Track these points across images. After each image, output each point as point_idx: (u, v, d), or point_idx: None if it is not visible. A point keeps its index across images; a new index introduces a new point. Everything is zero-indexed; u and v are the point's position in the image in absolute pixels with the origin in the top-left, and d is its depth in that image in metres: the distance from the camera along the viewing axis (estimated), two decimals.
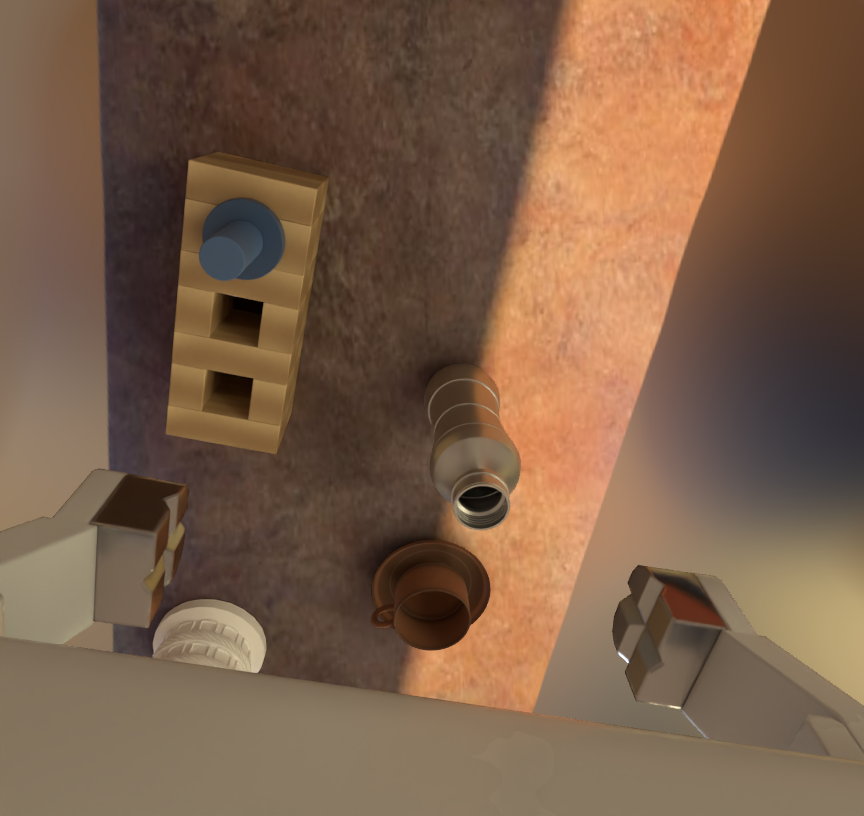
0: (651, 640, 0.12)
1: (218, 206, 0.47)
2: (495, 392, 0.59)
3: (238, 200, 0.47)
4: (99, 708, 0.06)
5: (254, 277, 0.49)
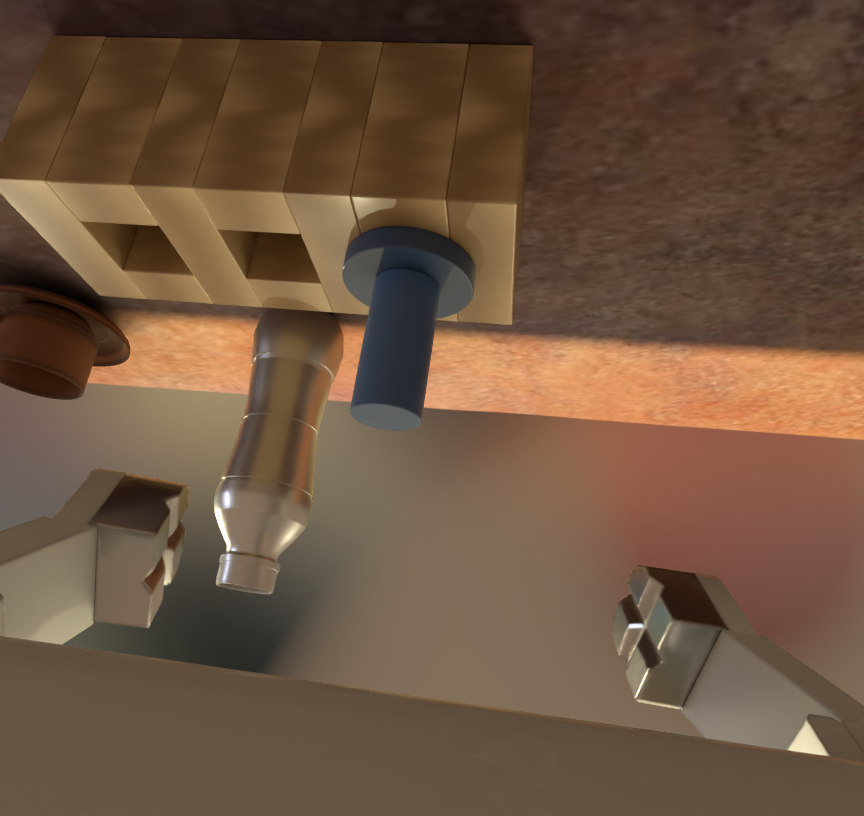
0: (651, 640, 0.12)
1: (450, 262, 0.27)
2: None
3: (469, 282, 0.28)
4: (99, 708, 0.06)
5: (356, 296, 0.31)
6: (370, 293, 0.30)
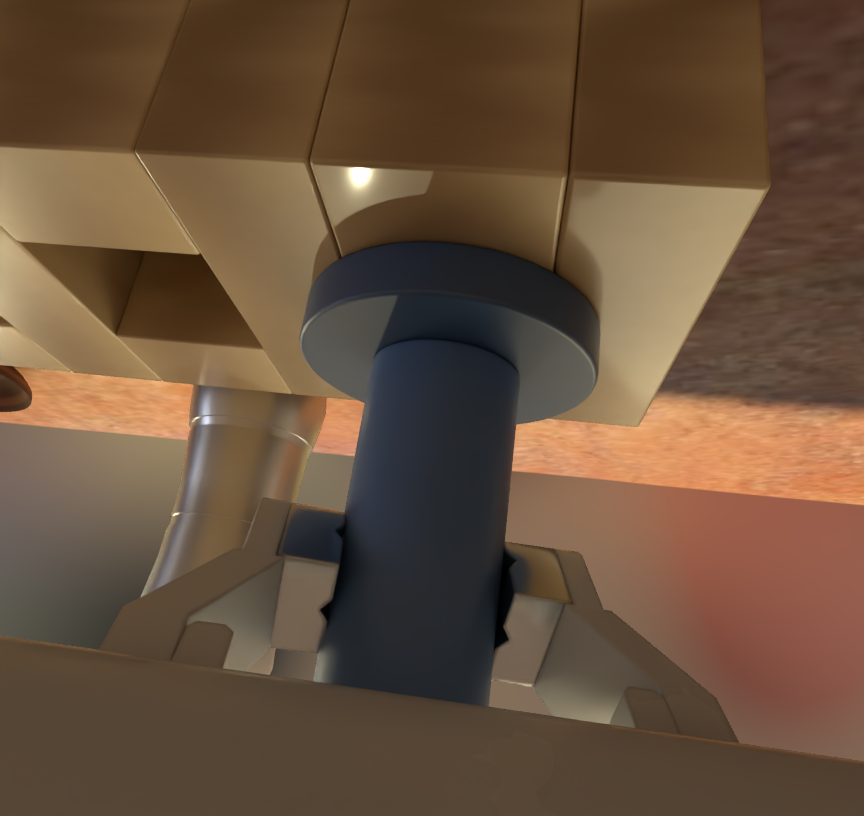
0: None
1: (559, 332, 0.11)
2: None
3: (592, 371, 0.12)
4: (99, 708, 0.06)
5: (334, 385, 0.14)
6: (363, 380, 0.14)
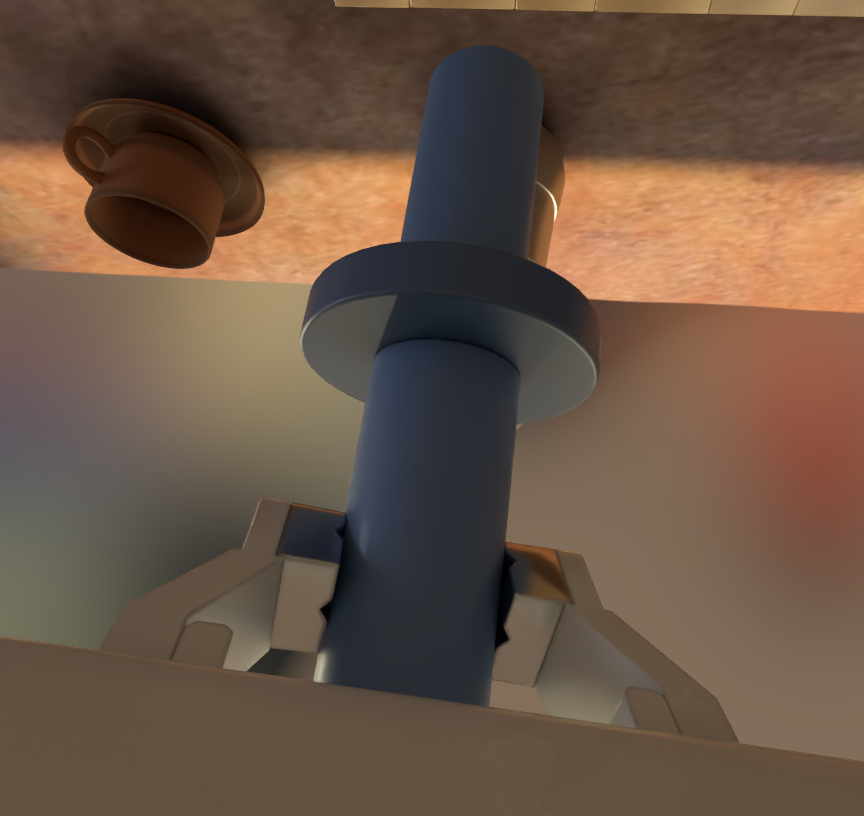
0: None
1: (560, 332, 0.11)
2: None
3: (593, 371, 0.12)
4: (99, 708, 0.06)
5: (335, 384, 0.14)
6: (364, 380, 0.14)
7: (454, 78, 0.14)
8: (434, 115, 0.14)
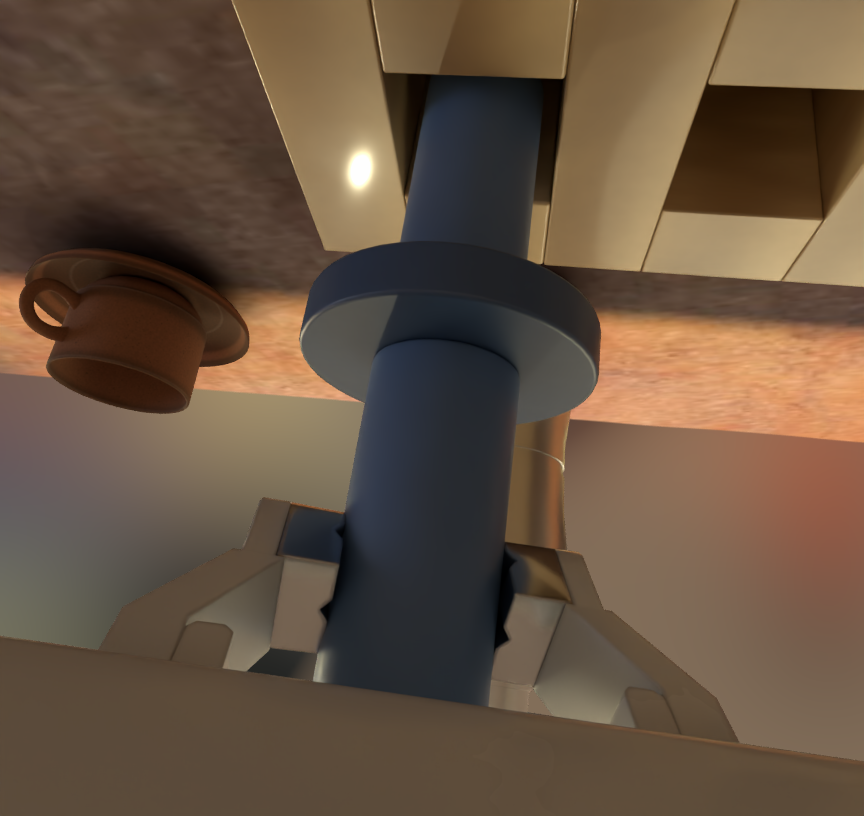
0: None
1: (559, 332, 0.11)
2: None
3: (592, 371, 0.12)
4: (99, 708, 0.06)
5: (334, 384, 0.14)
6: (364, 380, 0.14)
7: (453, 78, 0.14)
8: (434, 115, 0.14)
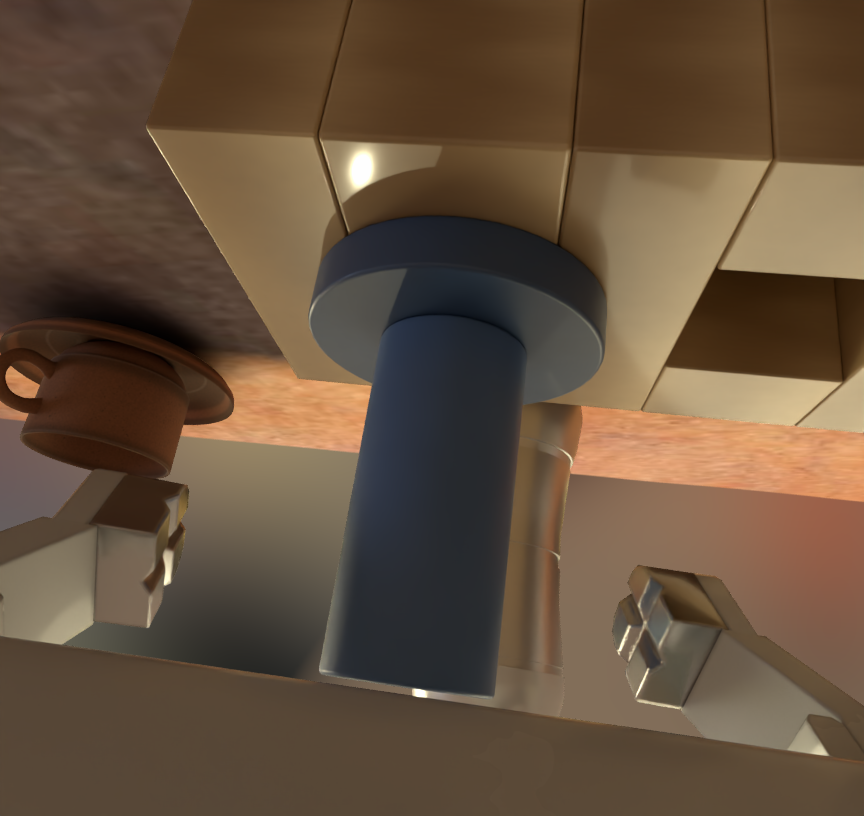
0: (651, 641, 0.12)
1: (567, 306, 0.11)
2: None
3: (599, 348, 0.12)
4: (99, 708, 0.06)
5: (342, 364, 0.15)
6: (371, 359, 0.14)
7: None
8: None
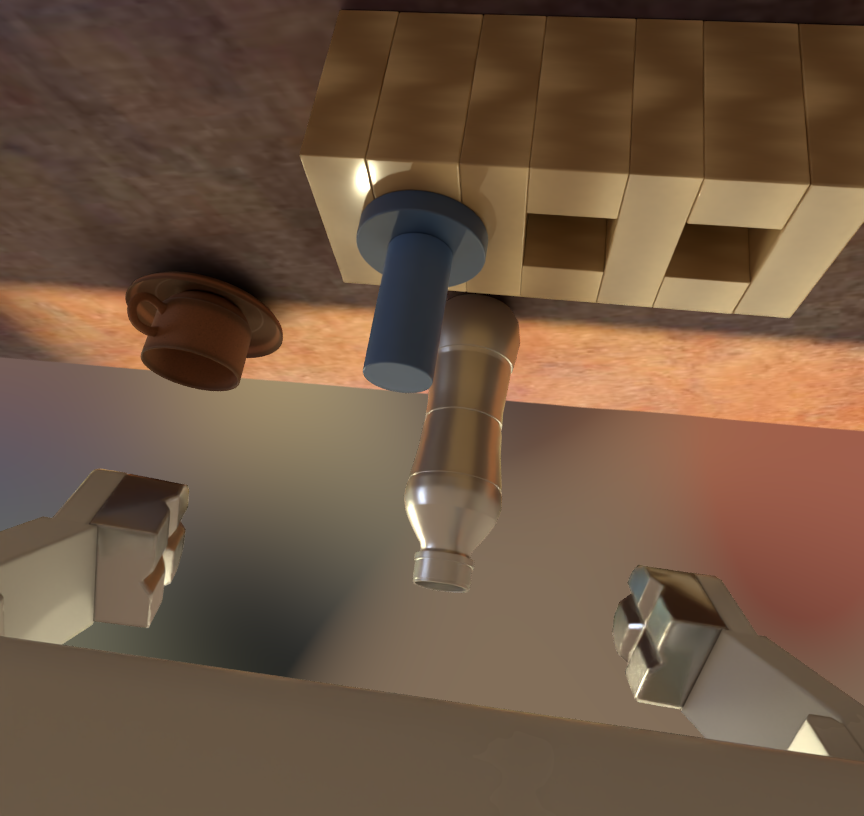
0: (651, 640, 0.12)
1: (464, 227, 0.28)
2: None
3: (481, 248, 0.29)
4: (99, 708, 0.06)
5: (369, 263, 0.31)
6: (383, 259, 0.30)
7: None
8: None
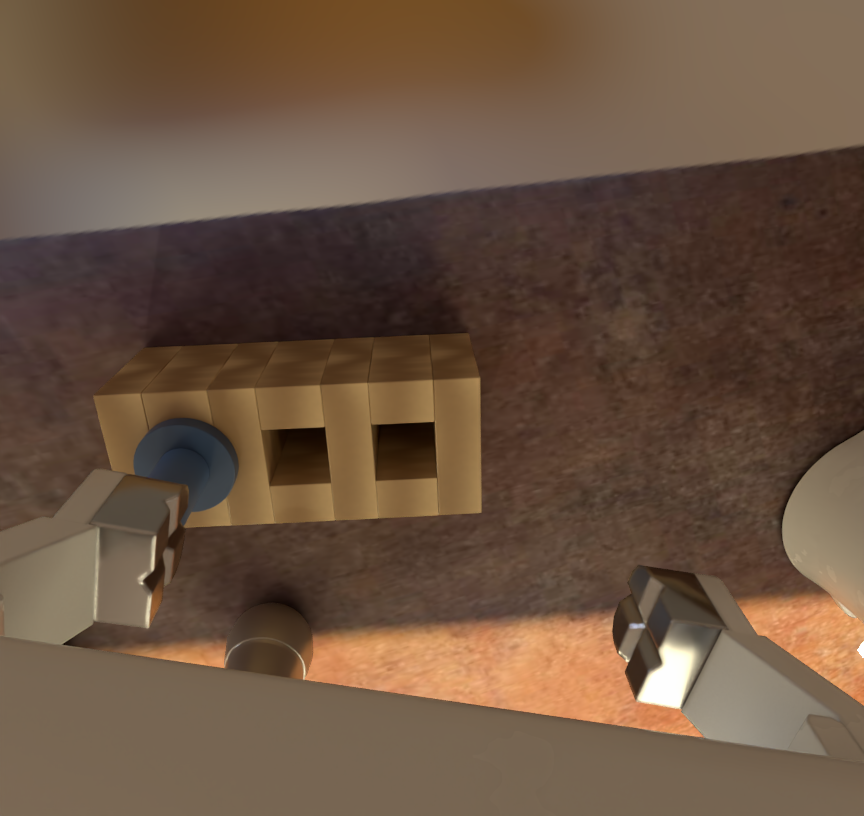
0: (651, 641, 0.12)
1: (213, 438, 0.38)
2: None
3: (230, 458, 0.39)
4: (99, 708, 0.06)
5: None
6: None
7: None
8: None
